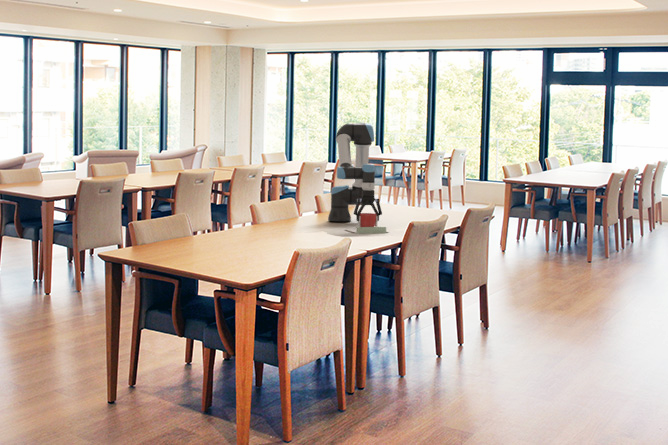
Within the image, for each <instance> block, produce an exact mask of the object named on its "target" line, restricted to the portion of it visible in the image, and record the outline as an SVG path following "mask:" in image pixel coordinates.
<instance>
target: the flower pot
mask: <svg viewBox="0 0 668 445" xmlns="http://www.w3.org/2000/svg"><path fill="white" fill-rule="evenodd" d="M376 215H377V214H375V212H374V213H373V212H372V213H371V212H368V213H367V212H361V213H360V215H359V216H361V220H360V227H375V221H376Z"/></svg>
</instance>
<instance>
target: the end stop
mask: <svg viewBox="0 0 668 445" xmlns="http://www.w3.org/2000/svg"><path fill="white" fill-rule="evenodd" d="M355 230H356V232H355V234H387V233H386V232H387V226H377V227H375V226H374V227H361V226H360V227H358V226H357V227H356V229H355Z"/></svg>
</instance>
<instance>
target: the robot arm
mask: <svg viewBox="0 0 668 445" xmlns="http://www.w3.org/2000/svg"><path fill="white" fill-rule="evenodd" d="M335 142H336V144H337V148H338V149H337V150H338V165H339V166H337V167H336V178H337V179H339V180H354V182H353V183H352V185H351V187H350V186H349V185H348V184H346V185H345V184H344V185H338V186H337V185H336V186H333V187H331V191H330V198H331V199H330V210H329V213H328V216H327V220H328V221H330V222H351V221H352V217H351V214H350V210H349V206H355V208H354V211H353V215H355V216H356V217H355V218H356V219H355V220H356V222H357V227H361V226H360V220H361V216H359V215H360V213H363V212H362V211H363V209H364V208H365V207H366V206H371V208H372V210H373V211H374V214H377V215H376V221H375V226H374V227H378V222H379V221H380V216H382V215H383V212H382V208H381V204H380V198H375V186H376V184H375V183H376V182H375V179H376V178H375V177H376V166H375V164H373V163H369V156H370V153H369V152H370V146H372V143H373V142H375V132H374V127H373V124H371V123H365V122H362V123H361V122H360V123H359V122H356V123H355V122H353V123H352V122H347V123H346V124H343V125H342V126H340V127H339V129H338V130H337V132H336V135H335ZM351 142H353V145H354V146H355V165H354V166H352V165H353V164H352V156H351V155H352V154H351ZM374 202H375V203H376V206H375V204H374Z"/></svg>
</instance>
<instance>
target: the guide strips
mask: <svg viewBox="0 0 668 445" xmlns="http://www.w3.org/2000/svg"><path fill="white" fill-rule="evenodd" d="M344 231H346V232H348V233H352V234H356V232H354V231H351V230H348V229H344ZM387 233H390V231H386V233H385V234H387Z"/></svg>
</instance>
